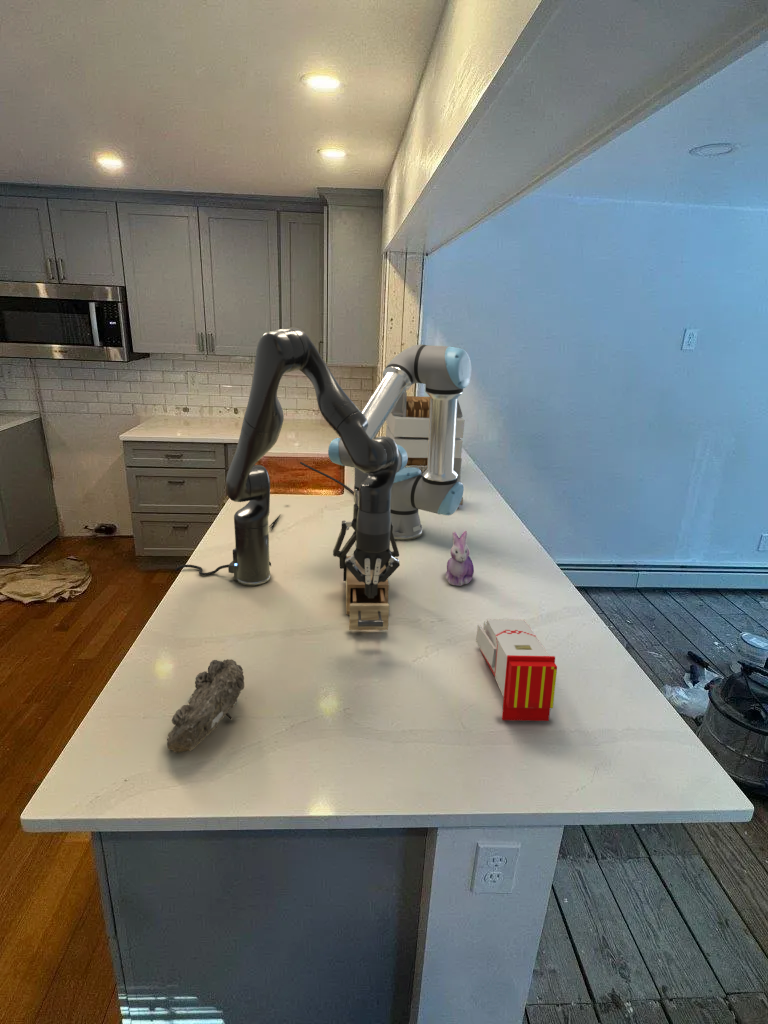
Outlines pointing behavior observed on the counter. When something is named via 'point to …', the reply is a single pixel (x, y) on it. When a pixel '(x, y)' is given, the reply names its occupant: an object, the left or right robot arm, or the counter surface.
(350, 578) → the cabinet
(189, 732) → the fossil
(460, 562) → the figurine
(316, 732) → the counter surface
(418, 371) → the right robot arm
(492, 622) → the toy
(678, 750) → the counter surface
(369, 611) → the drawer
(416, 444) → the white crate
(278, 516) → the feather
